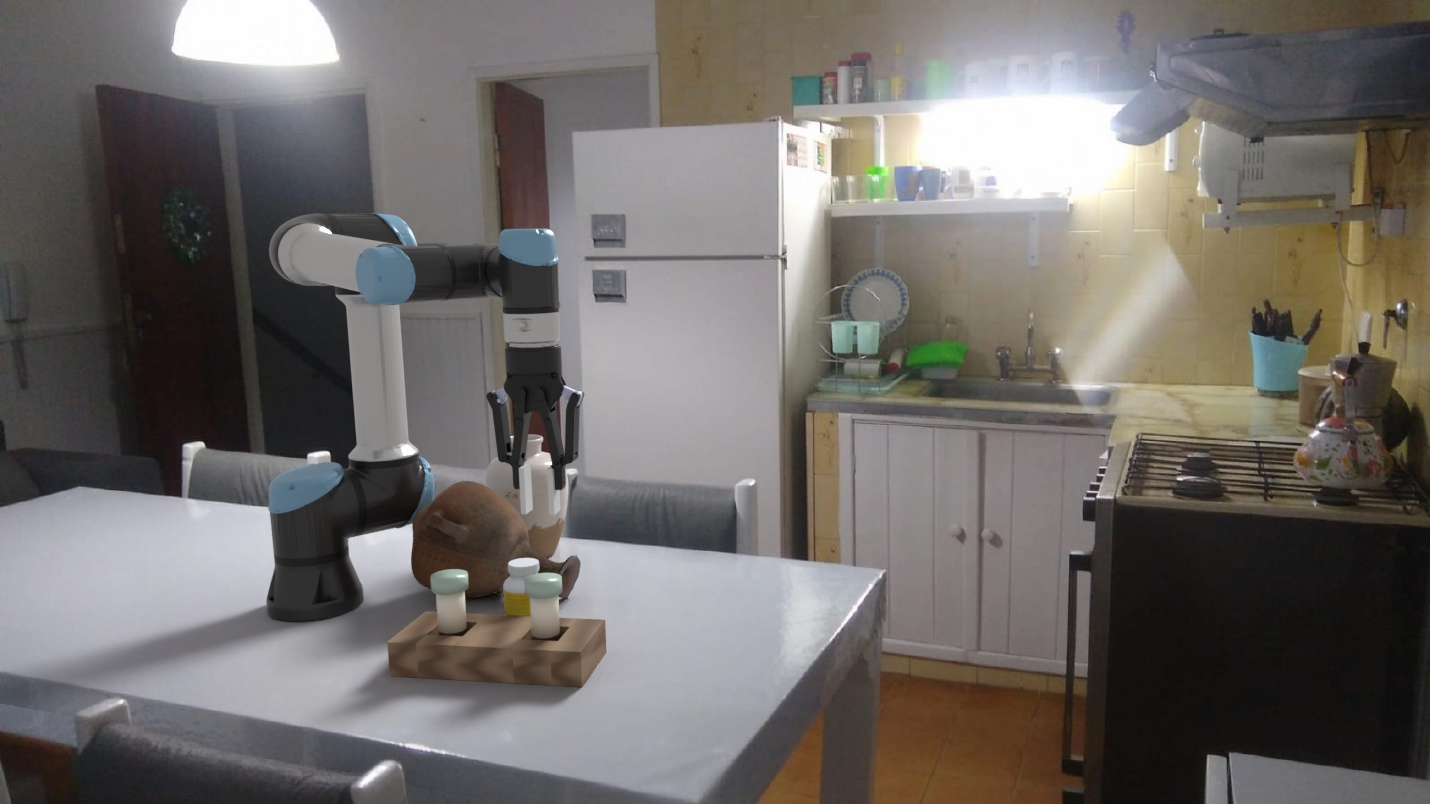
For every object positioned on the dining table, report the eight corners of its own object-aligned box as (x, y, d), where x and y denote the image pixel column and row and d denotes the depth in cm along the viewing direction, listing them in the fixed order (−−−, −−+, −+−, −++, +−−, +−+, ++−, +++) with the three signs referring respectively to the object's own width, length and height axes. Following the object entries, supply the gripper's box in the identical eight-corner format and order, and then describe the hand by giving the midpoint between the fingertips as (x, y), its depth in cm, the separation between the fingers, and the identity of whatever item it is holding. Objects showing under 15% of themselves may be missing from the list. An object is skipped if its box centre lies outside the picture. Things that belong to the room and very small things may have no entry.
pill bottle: (539, 644, 156) (535, 570, 154) (499, 642, 157) (494, 568, 155) (554, 628, 162) (551, 556, 160) (515, 626, 164) (511, 554, 162)
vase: (563, 538, 211) (558, 427, 207) (578, 560, 196) (573, 441, 192) (483, 546, 206) (477, 433, 202) (493, 570, 191) (486, 448, 188)
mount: (389, 676, 146) (387, 642, 145) (427, 643, 157) (425, 611, 157) (582, 687, 141) (580, 652, 140) (606, 652, 152) (605, 619, 152)
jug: (384, 601, 176) (539, 651, 167) (376, 500, 168) (538, 547, 159) (454, 544, 193) (598, 587, 184) (451, 450, 185) (600, 490, 176)
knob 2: (521, 639, 145) (518, 584, 144) (534, 625, 150) (531, 572, 149) (557, 640, 144) (554, 585, 143) (569, 626, 149) (566, 573, 148)
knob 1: (427, 634, 147) (423, 580, 146) (443, 621, 152) (439, 568, 151) (462, 636, 146) (458, 581, 145) (476, 622, 152) (473, 569, 150)
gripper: (464, 347, 138) (474, 517, 142) (583, 346, 136) (590, 520, 139) (485, 341, 146) (494, 503, 149) (599, 340, 143) (605, 506, 147)
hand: (540, 511), depth 144 cm, fingers open, 3 cm apart
